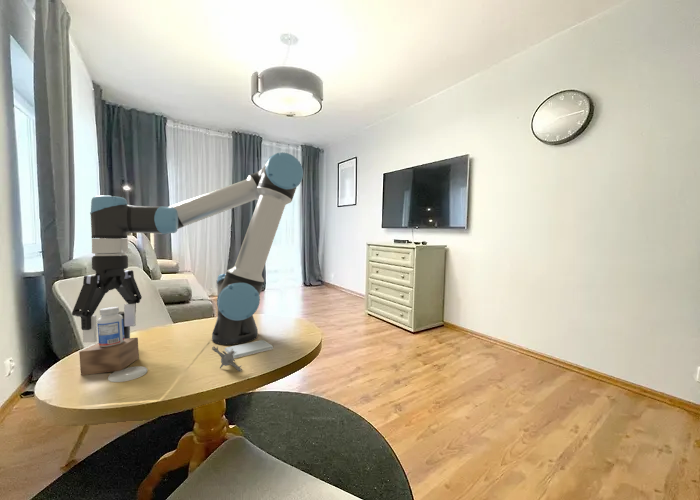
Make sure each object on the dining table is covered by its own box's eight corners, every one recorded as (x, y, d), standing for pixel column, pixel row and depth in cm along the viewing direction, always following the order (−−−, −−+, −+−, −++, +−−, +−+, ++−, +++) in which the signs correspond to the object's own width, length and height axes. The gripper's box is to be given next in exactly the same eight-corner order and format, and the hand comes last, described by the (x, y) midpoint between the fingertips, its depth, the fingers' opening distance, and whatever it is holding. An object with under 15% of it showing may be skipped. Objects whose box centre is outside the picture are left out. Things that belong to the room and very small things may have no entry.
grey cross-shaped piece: (250, 360, 86) (249, 361, 78) (235, 379, 83) (232, 381, 75) (223, 339, 86) (219, 337, 77) (207, 356, 83) (201, 357, 75)
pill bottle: (109, 341, 82) (107, 306, 82) (129, 340, 82) (127, 305, 82) (93, 348, 77) (90, 310, 77) (114, 346, 77) (112, 309, 77)
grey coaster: (154, 369, 79) (154, 366, 79) (132, 383, 71) (132, 380, 71) (124, 369, 79) (124, 366, 79) (99, 383, 71) (99, 380, 71)
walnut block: (138, 358, 85) (137, 337, 85) (120, 370, 76) (119, 347, 76) (103, 362, 83) (102, 340, 83) (80, 375, 75) (79, 351, 74)
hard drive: (262, 339, 101) (224, 346, 93) (273, 345, 95) (233, 354, 87) (262, 344, 101) (224, 352, 93) (273, 351, 95) (233, 360, 87)
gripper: (130, 252, 91) (131, 320, 92) (49, 257, 66) (51, 350, 67) (154, 252, 91) (155, 320, 92) (83, 257, 67) (85, 350, 67)
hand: (111, 333), depth 80 cm, fingers open, 13 cm apart
